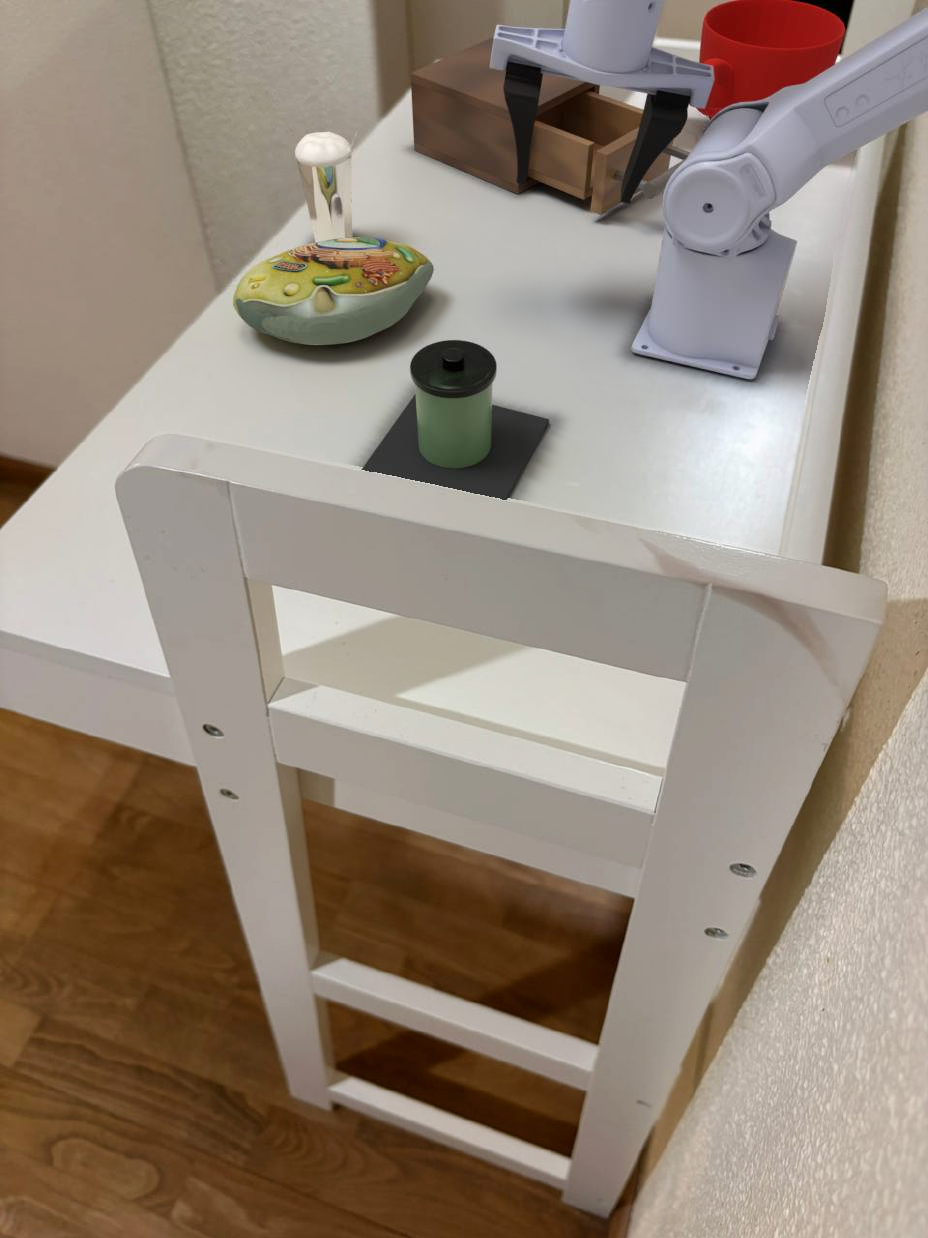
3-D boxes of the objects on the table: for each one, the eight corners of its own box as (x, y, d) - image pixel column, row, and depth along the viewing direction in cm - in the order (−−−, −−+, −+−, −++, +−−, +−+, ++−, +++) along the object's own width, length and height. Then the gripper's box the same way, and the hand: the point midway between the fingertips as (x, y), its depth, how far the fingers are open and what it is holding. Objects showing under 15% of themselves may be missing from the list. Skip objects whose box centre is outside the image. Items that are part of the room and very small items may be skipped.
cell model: (218, 273, 73) (378, 171, 72) (272, 352, 79) (423, 258, 78) (232, 321, 65) (413, 206, 64) (292, 406, 71) (461, 301, 69)
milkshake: (361, 261, 79) (349, 141, 71) (301, 255, 80) (283, 135, 72) (375, 234, 82) (365, 116, 74) (317, 228, 83) (301, 110, 75)
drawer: (708, 189, 85) (721, 129, 81) (642, 232, 80) (651, 171, 76) (563, 134, 92) (568, 76, 88) (495, 171, 87) (496, 111, 83)
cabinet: (593, 151, 92) (601, 73, 86) (517, 194, 86) (521, 114, 81) (490, 112, 97) (492, 36, 92) (414, 150, 92) (410, 72, 87)
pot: (506, 430, 64) (509, 339, 59) (476, 480, 61) (477, 389, 56) (434, 411, 66) (430, 321, 60) (401, 459, 63) (394, 368, 57)
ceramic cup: (632, 143, 93) (647, 31, 85) (737, 95, 100) (760, -13, 92) (736, 189, 87) (762, 73, 79) (840, 134, 93) (874, 23, 86)
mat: (549, 423, 66) (549, 418, 65) (498, 515, 60) (498, 511, 59) (420, 390, 68) (420, 385, 68) (360, 476, 62) (359, 471, 62)
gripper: (735, -29, 59) (670, 175, 70) (511, -73, 58) (481, 140, 69) (741, 17, 55) (671, 227, 66) (501, -29, 54) (471, 190, 65)
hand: (573, 186), depth 67 cm, fingers open, 7 cm apart
